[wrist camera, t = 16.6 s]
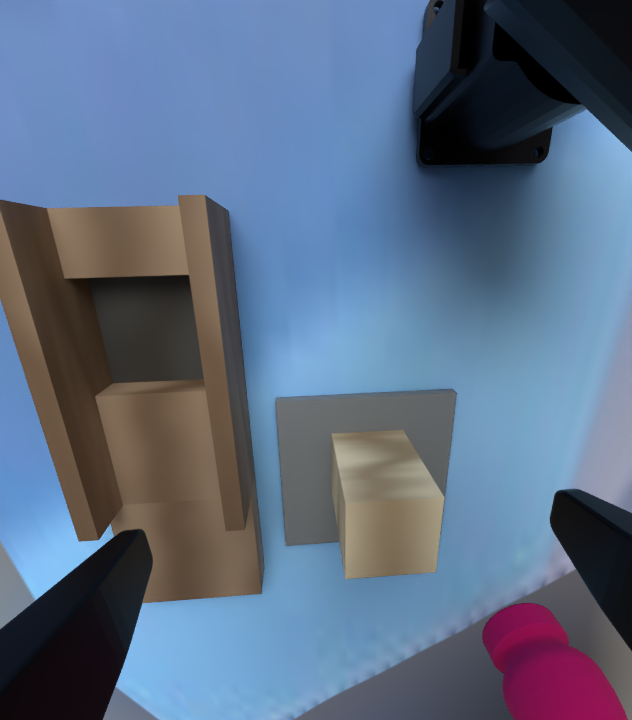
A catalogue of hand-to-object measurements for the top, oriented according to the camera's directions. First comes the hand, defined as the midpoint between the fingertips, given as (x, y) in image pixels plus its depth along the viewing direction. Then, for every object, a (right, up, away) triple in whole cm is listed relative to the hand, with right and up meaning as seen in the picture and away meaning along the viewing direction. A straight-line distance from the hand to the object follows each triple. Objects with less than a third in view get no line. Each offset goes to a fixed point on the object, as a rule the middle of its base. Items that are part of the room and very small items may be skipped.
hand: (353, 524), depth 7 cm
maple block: (+2, -3, +14) cm, 14 cm away
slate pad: (+2, -4, +15) cm, 15 cm away
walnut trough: (-9, +1, +13) cm, 16 cm away
